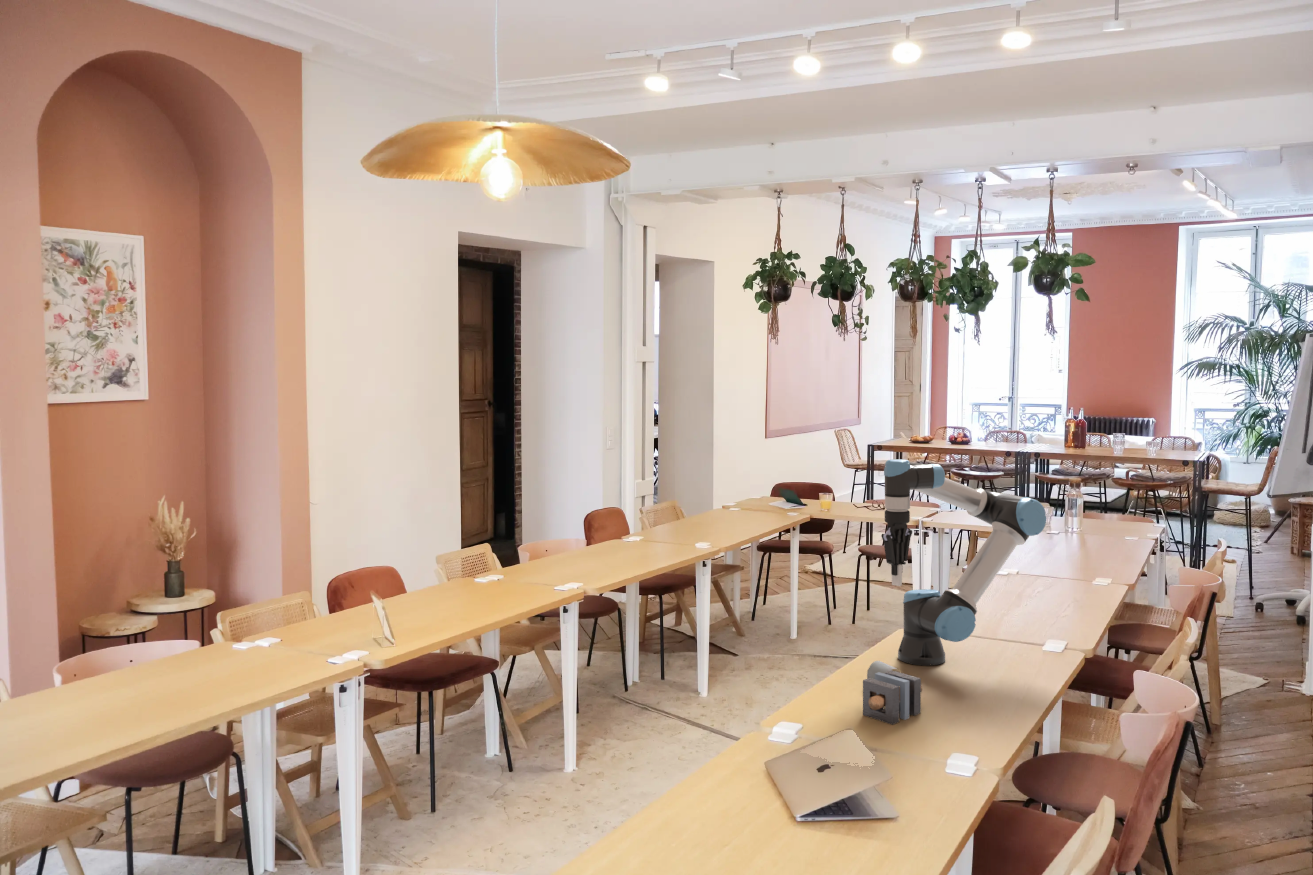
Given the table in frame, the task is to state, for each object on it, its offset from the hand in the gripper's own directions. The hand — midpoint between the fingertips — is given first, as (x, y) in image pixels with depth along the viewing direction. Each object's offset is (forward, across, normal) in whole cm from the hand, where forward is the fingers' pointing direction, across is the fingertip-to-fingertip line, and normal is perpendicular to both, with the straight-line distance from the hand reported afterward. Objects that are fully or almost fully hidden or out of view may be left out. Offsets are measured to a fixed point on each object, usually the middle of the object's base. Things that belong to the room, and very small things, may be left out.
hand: (896, 585), depth 303 cm
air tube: (+26, +25, +18) cm, 41 cm away
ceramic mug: (+30, +9, +3) cm, 31 cm away
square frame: (+29, +22, +18) cm, 41 cm away
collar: (+29, +32, +18) cm, 47 cm away
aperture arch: (+29, +27, +18) cm, 44 cm away
